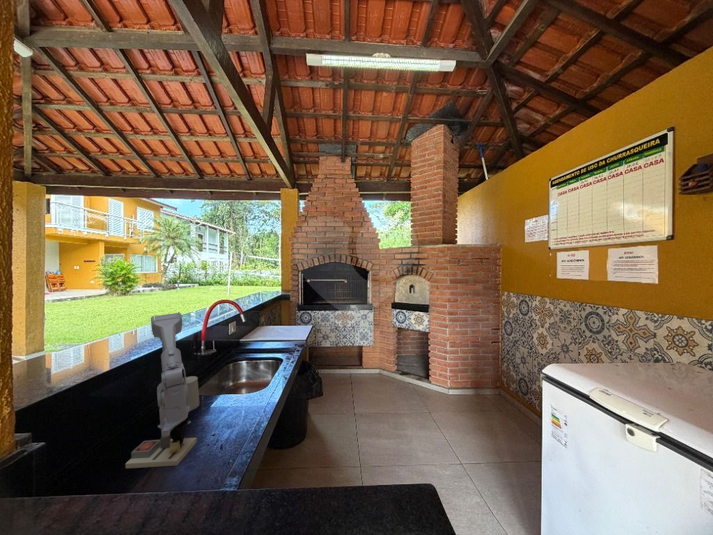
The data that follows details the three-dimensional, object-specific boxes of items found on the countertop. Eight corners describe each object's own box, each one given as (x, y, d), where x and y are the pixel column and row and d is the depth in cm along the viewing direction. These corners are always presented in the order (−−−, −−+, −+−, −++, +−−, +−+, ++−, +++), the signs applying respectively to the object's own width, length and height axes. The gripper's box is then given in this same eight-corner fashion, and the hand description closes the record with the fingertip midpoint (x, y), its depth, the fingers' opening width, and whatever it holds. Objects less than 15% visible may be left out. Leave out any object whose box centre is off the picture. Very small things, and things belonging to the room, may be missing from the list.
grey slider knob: (160, 448, 92) (159, 438, 92) (163, 444, 94) (163, 434, 94) (168, 447, 92) (167, 437, 92) (172, 443, 94) (171, 434, 94)
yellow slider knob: (169, 453, 89) (168, 443, 89) (172, 449, 91) (172, 439, 91) (177, 452, 89) (177, 442, 89) (181, 448, 91) (180, 439, 91)
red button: (137, 456, 89) (136, 449, 89) (145, 448, 93) (145, 442, 93) (148, 455, 89) (147, 448, 89) (156, 447, 93) (155, 441, 93)
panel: (125, 468, 86) (124, 457, 86) (151, 444, 97) (150, 434, 97) (177, 465, 86) (176, 454, 86) (196, 441, 97) (196, 432, 97)
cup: (184, 402, 125) (182, 377, 125) (202, 401, 126) (200, 375, 125) (173, 413, 117) (171, 385, 116) (193, 411, 118) (191, 383, 117)
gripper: (174, 394, 98) (177, 431, 99) (149, 418, 84) (152, 461, 84) (195, 392, 99) (198, 429, 100) (173, 415, 85) (177, 457, 85)
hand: (179, 443), depth 92 cm, fingers closed
